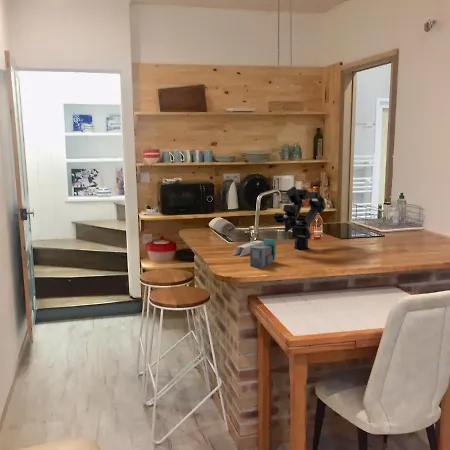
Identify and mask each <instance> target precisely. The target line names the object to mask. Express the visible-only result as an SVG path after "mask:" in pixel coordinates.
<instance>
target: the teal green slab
mask: <svg viewBox="0 0 450 450" xmlns="http://www.w3.org/2000/svg"><path fill="white" fill-rule="evenodd" d="M263 246H272V253H271V255H273V261H276V258H277V257H276V255H277V251H276V250H277V247H276V246H277V239H272V238H263Z"/></svg>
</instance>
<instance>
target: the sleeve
mask: <svg viewBox="0 0 450 450" xmlns="http://www.w3.org/2000/svg"><path fill="white" fill-rule="evenodd" d="M262 247H265V266H268V265H272V264H273V263H274V262H273V261H274V260H273V255H271V253H272V246H264V245H263V246H262Z"/></svg>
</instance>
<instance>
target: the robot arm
mask: <svg viewBox="0 0 450 450" xmlns="http://www.w3.org/2000/svg"><path fill="white" fill-rule="evenodd" d="M285 194H286V197H287V199H288V201H289V203H290V204H284V205H283V208H282V211H283V212H284V215H283V214H282V213H280V212H274V214H273V219H274V220H275V222H276V223H277V224H283V223H284V232H285V233H288V232H289V231H290V230H291V233H292V238H294V239H295V240H294V246H293V248H294V249H296V250H299V251H300V250H308V249H309V250H310V247H309V245H308V244H309V239H311V236H312V234H311V231H310V230H309V227H310V226H311V224H312V222H313V221H314V219H316V217H317V215H318V214H321V213H323V212H324V211H325V210H326V207H327V205H326V202H325V199H324V197H322V196H321V194H320V192H318V191H309V189H303V188H296V186H291V188H289V189H287V190H286V192H285ZM313 199H315V200H313ZM306 200H307V201H308V200H309V202H308V205H309V208H310V209H308V212H306V214H301V209H302V208H304V206H305V205H304V202H303V201H306Z"/></svg>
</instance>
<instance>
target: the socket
mask: <svg viewBox="0 0 450 450" xmlns="http://www.w3.org/2000/svg"><path fill="white" fill-rule="evenodd" d="M249 258H250V259H249V265H250V267H255V268H264V267H266V265H265V247H258V246H253V247H250V253H249Z"/></svg>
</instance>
